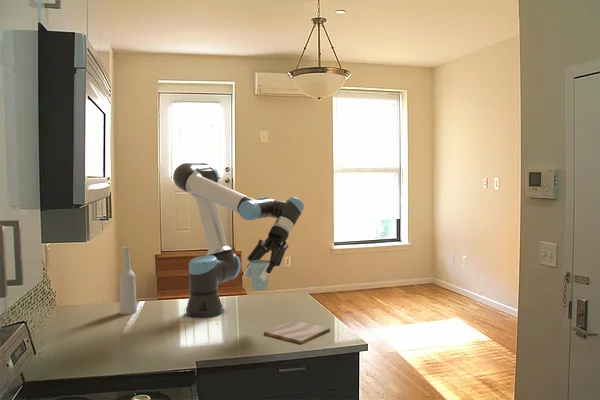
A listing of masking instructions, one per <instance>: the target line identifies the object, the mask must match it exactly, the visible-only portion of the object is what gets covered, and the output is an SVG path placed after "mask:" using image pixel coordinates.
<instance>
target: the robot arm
mask: <svg viewBox="0 0 600 400" xmlns="http://www.w3.org/2000/svg"><path fill="white" fill-rule="evenodd" d="M172 178H173V182H174V184H175V186H176V187H177V188H178V189H180V190H182V191H183V192H187V193H188V194H190V195H191V197H193V198H194V199H195V201H196V205H197V208H198V209H197V210H198V212H199V216H200V221H201V224H202V229H203V232H204V233H203V234H204V237H205V241H206V242H205V243H206V245H207V250H208V251H207V253H206V254H205V255H202V256H201V255H199V256H196V257H193V258H192V259H190V261H189V262H188V279H189V280H188V281H189V283H188V284H189V297H188V301H187V305H186V308H185V315H186V316H188V317H190V318H201V319H202V318H211V317H216V316H219V315H221V314H222V313H223V308H224V307H223V304H222V302H221V298H220V296H219V284H223V283H224V282H230V281H231V280H233V279H235V278H236V277H238V275H239V274H240V272H241V269H242V268H241V267H242V265H241V264H242V263H241V261H240V257H239V256H237V255H236V254H235V253H234V252H233V249H232V247H230V246H229V245H228V242H227V238H226V234H225V231H224V226H223V221H222V219H221V218H222V217H221V215H220V210H219V207H218V205H219V206H222V207H224V208H226V209H229V210H231V211H233V212H235V213H238V214H239V215H240V217H241V218H242V219H244V220H246V221H254V220H259V219H265V218H273V219H275V221H274V222H273V224H272V226H271V228H270V230H269V231H268V235H267V236H268V237H267V238H266V239H264V240H263V239H259V240H258V242H257V245H256V246H255V247H254V249H253V250H252V251H251V253H249V255H248V257H247V260H248V262H250V261H253V260H262V258H263V257H264V256H265V255H266V254H268V253H269V252H271V253H270V257H269V258H270V260H269V263H270V264H269V263H267V265H266V266H265V268H264V270H263V272H262V273H261V275H260V277H259V278H260V279H261V280H262V281H263V282H265V280H266V278H267V276H268V275H270V274H271V273H272V271H273V269H274V267H280V265H281V263H282V261H283V259H284V255H285V253H286V251H287V250H288V248H289V244H288V243H287V240H288V238H289V235H291V233H292V231H293V228H294V227H295V225H296V223H297V222H298V220H299V218H300V217H301V215H302V213H303V210H304V208H305V204H304V203H303V201H302V200H301V199H299V198H298V197H296V196H291V197H289V198H288V199H287V200H286V201H285V200H279V199H275V198H270V197H265V196H260V197H258V199H255V198H252V197H249V196H247V195H245V194H243V193H240V192H238V191H236V190H234V189H232V188H229V187H227V186H224V185H222V184H220V183H219V181H220V175H219V173H218V171H217V169H216V168H215V166H213V165H211V164H209V163H204V162H201V163H195V162H194V163H193V162H192V163H190V162H189V163H188V162H186V163H182V164H179V165H178V166H177V167H176V169H175V170H174V171H173V176H172ZM243 276H244V278H245V279H246V280H249V279H250V277H251V271H250V264H249V263H248V265H246V269H245V271H244V272H243ZM268 277H269V276H268Z"/></svg>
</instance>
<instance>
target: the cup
mask: <svg viewBox="0 0 600 400" xmlns="http://www.w3.org/2000/svg"><path fill="white" fill-rule="evenodd" d="M269 261H270V260H268V259H260V260H253V261H248V264H250V271H251V275H250V277H251V283H252V290H253V291H254V290H255V291H265V290H268V287H269V275H270V274H269V275H268V276H267V278H266V280H265V282H263V281H262V280H261V279H260V278H259V277H260V275H261V273H262V272H263V270H264V268H265V266H266V265H267V263H269ZM269 264H270V263H269Z"/></svg>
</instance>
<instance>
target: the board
mask: <svg viewBox="0 0 600 400" xmlns="http://www.w3.org/2000/svg"><path fill="white" fill-rule="evenodd" d="M330 331H331V327H328V326H327V327H326V326H322V325H319V324H318V325H316V324H312V323H309V322H308V323H307V322H304V321H300V320H299V321H298V320H292V321H288V322H287V323H283V324H281V325H279V326H278V325H277V326H275V327H273V328H270V329H268V330H265V331H263V335H264V336H269V337H272V338H276V339H281V340H284V341H289V342H293V343H298V344H301V345H302V344H304V343H306V342H308V341H311V340H312V339H315V338H317V337H319V336H322V335H324V334H327V333H329V332H330Z"/></svg>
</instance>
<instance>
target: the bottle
mask: <svg viewBox="0 0 600 400" xmlns="http://www.w3.org/2000/svg"><path fill="white" fill-rule="evenodd" d="M122 250H123V252H122V253H123V255H122V256H123V258H122V259H123V263H122V265H123V268H122V269H123V270H122V271H121V273H120V274H119V276H118V278H119V279H118V280H119V285H118V286H119V311H120V312H119V313H120V314H121V315H132V314H133V315H134V314H136V313H137V309H138V308H137V289H136V288H137V287H136V285H137V284H136V274H135V272H134V271H133V270H132V268H131V259H130V257H131V256H130V246H122Z"/></svg>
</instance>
